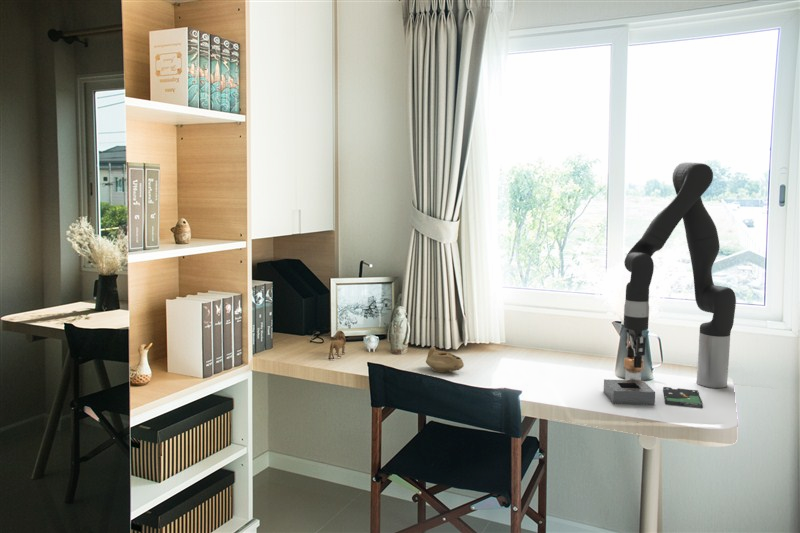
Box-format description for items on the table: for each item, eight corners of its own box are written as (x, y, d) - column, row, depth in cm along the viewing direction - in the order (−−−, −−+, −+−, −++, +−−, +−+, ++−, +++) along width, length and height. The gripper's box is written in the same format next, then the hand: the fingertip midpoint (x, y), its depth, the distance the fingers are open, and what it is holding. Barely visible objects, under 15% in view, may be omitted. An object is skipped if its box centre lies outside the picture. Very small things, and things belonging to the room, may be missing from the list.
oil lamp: (458, 377, 222) (458, 355, 221) (419, 371, 229) (419, 349, 228) (470, 370, 231) (471, 348, 230) (433, 364, 238) (433, 343, 238)
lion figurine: (333, 351, 258) (333, 329, 257) (347, 351, 257) (347, 329, 256) (327, 360, 243) (326, 337, 242) (341, 361, 243) (341, 337, 242)
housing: (603, 394, 204) (604, 379, 203) (642, 395, 203) (643, 380, 202) (613, 407, 192) (613, 390, 191) (654, 408, 191) (655, 392, 190)
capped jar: (620, 386, 213) (621, 356, 212) (639, 386, 212) (640, 357, 211) (625, 391, 207) (626, 361, 206) (644, 392, 206) (646, 361, 205)
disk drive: (662, 395, 206) (665, 409, 192) (662, 386, 206) (665, 399, 192) (697, 398, 203) (703, 413, 189) (698, 389, 202) (703, 403, 188)
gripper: (655, 318, 200) (652, 370, 201) (641, 310, 214) (639, 359, 216) (630, 318, 200) (628, 370, 202) (618, 309, 214) (616, 358, 216)
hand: (633, 364), depth 209 cm, fingers open, 7 cm apart
